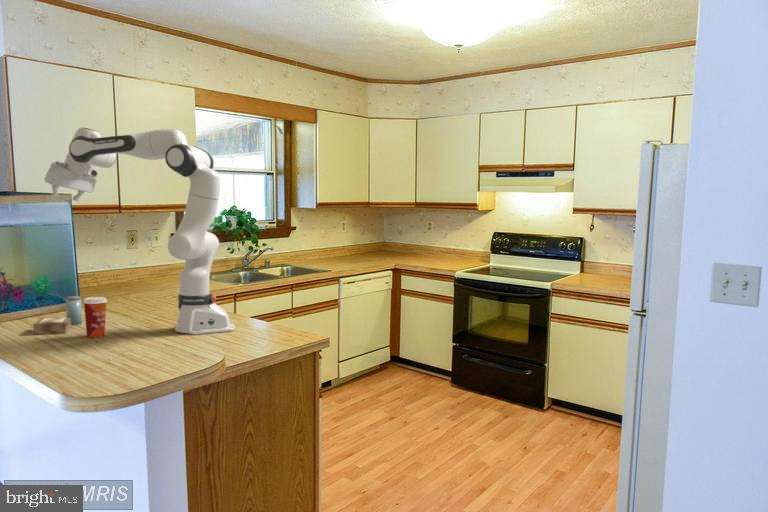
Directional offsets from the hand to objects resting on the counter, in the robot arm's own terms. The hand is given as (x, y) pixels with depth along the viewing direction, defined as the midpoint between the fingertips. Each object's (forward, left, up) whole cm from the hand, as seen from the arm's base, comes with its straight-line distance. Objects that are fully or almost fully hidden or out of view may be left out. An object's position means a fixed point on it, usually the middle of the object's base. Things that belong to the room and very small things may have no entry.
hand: (65, 198), depth 208 cm
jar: (-4, +8, -50) cm, 51 cm away
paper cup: (-15, +31, -50) cm, 61 cm away
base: (+1, +19, -50) cm, 54 cm away
